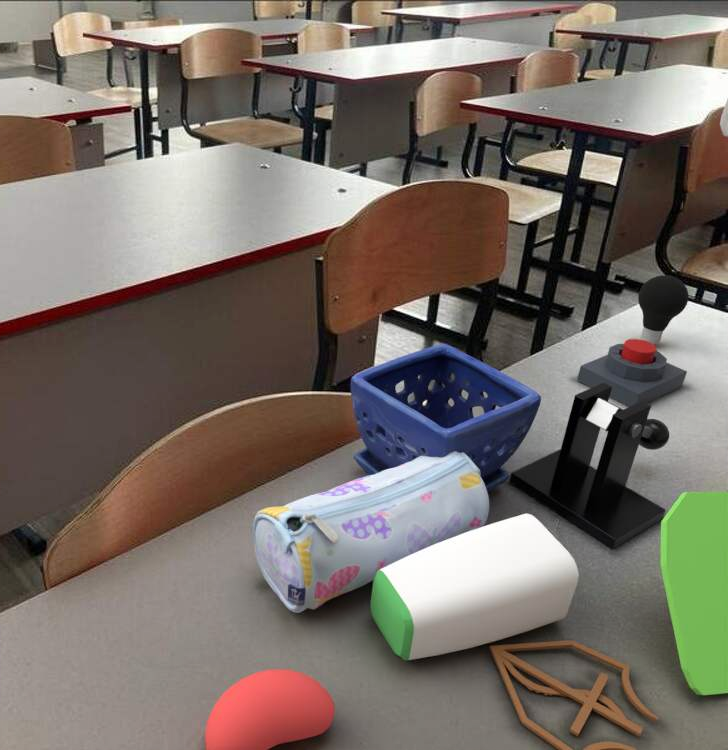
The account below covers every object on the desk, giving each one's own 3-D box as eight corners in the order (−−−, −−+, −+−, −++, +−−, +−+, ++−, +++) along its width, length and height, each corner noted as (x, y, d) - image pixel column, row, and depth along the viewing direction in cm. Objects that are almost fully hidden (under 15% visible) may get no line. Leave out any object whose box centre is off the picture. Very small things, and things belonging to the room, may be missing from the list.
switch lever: (635, 442, 84) (651, 416, 84) (663, 457, 82) (680, 430, 82) (578, 420, 75) (595, 391, 75) (608, 437, 73) (626, 406, 72)
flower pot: (428, 542, 74) (447, 436, 68) (337, 469, 84) (347, 371, 78) (523, 494, 80) (547, 394, 74) (428, 432, 90) (443, 338, 84)
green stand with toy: (802, 489, 66) (740, 500, 72) (651, 493, 63) (599, 504, 69) (852, 680, 62) (782, 676, 68) (693, 696, 59) (633, 689, 64)
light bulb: (680, 347, 108) (703, 279, 103) (656, 358, 106) (678, 289, 101) (640, 331, 113) (660, 265, 108) (616, 341, 110) (635, 274, 105)
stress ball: (325, 685, 52) (322, 645, 58) (192, 710, 52) (202, 669, 59) (343, 761, 52) (338, 713, 58) (210, 785, 53) (218, 735, 59)
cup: (366, 552, 63) (524, 504, 67) (359, 611, 67) (509, 563, 71) (414, 623, 57) (584, 566, 61) (403, 684, 61) (563, 627, 65)
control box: (624, 360, 105) (632, 333, 103) (682, 386, 99) (691, 358, 97) (576, 380, 100) (583, 352, 98) (634, 409, 95) (643, 380, 93)
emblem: (626, 789, 53) (623, 795, 53) (671, 688, 59) (668, 694, 60) (460, 688, 59) (458, 694, 60) (517, 607, 66) (515, 613, 66)
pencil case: (291, 638, 64) (297, 549, 59) (240, 570, 70) (242, 484, 66) (487, 555, 72) (506, 471, 68) (425, 501, 79) (438, 421, 74)
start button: (632, 348, 100) (635, 336, 99) (658, 360, 98) (662, 347, 97) (614, 355, 98) (618, 343, 98) (641, 367, 96) (645, 355, 95)
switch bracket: (558, 457, 86) (583, 362, 80) (662, 519, 77) (699, 417, 71) (508, 482, 82) (531, 383, 76) (612, 549, 73) (647, 444, 68)
